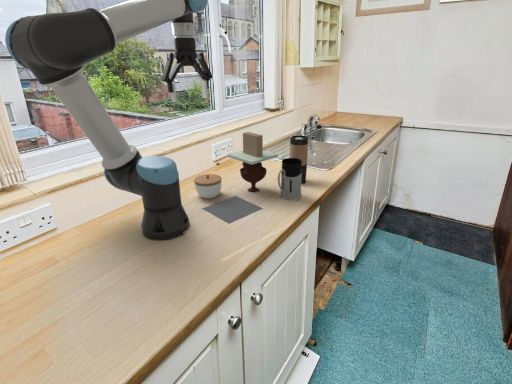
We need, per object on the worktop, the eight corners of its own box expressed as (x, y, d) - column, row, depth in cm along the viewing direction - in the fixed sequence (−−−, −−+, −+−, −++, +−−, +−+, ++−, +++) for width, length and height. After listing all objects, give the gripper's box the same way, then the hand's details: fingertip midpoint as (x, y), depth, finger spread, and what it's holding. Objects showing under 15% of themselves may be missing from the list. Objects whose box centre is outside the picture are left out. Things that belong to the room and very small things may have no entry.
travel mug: (309, 183, 138) (311, 138, 130) (293, 186, 135) (295, 140, 127) (300, 177, 144) (302, 134, 136) (285, 180, 142) (286, 136, 134)
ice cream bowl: (264, 197, 125) (264, 161, 119) (237, 195, 127) (235, 160, 121) (268, 187, 134) (268, 153, 129) (243, 185, 137) (242, 152, 131)
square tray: (229, 225, 105) (228, 223, 105) (201, 209, 116) (201, 208, 116) (263, 209, 115) (263, 208, 115) (235, 197, 126) (235, 195, 126)
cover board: (251, 164, 116) (251, 140, 112) (227, 156, 125) (226, 134, 122) (277, 156, 124) (278, 134, 121) (253, 149, 134) (253, 128, 130)
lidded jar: (190, 199, 125) (187, 177, 121) (205, 189, 133) (203, 168, 130) (213, 204, 120) (211, 181, 117) (227, 193, 129) (226, 172, 126)
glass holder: (305, 195, 126) (307, 159, 120) (288, 209, 115) (289, 170, 109) (286, 190, 131) (287, 156, 125) (268, 203, 120) (268, 166, 114)
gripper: (156, 36, 100) (165, 104, 109) (219, 37, 116) (222, 97, 124) (145, 37, 105) (154, 102, 114) (207, 38, 121) (211, 96, 129)
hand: (190, 100), depth 119 cm, fingers open, 13 cm apart
